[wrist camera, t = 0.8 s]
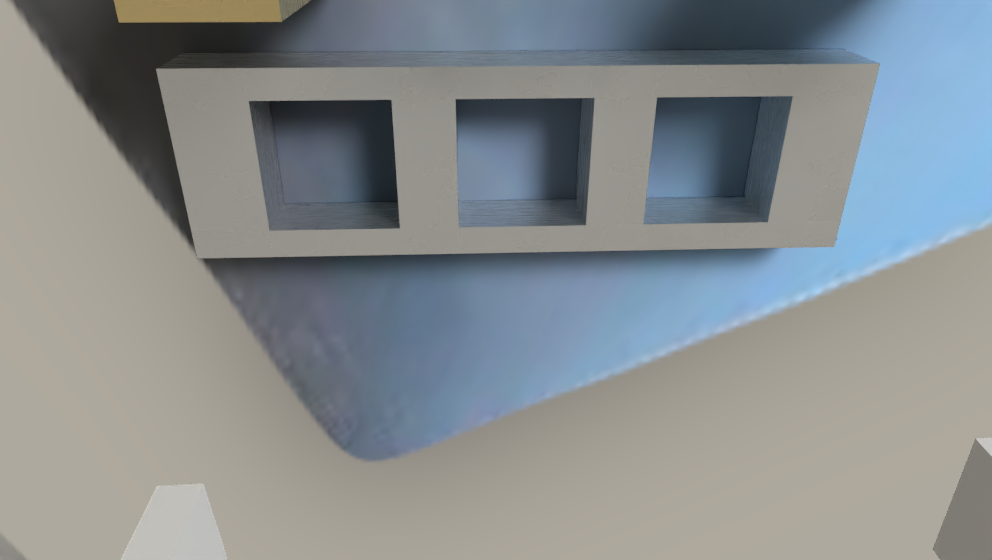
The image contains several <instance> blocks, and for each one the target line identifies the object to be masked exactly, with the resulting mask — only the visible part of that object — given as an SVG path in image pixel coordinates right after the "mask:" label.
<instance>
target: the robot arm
mask: <svg viewBox="0 0 992 560" xmlns="http://www.w3.org/2000/svg"><path fill="white" fill-rule="evenodd" d="M933 550H934V551H935V553H936V554H937V556H938V557H939V558H940V560H992V438H979V439H975V441H974V444H973V446H972V449H971V452H970V454H969V457H968V460H967V462H966V464H965V467H964V470H963V472H962V475H961V477H960V480H959V483H958V485H957V488H956V490H955V493H954V496H953V499H952V501H951V503H950V506H949V508H948V511H947V514H946V516H945V519H944V521H943V524H942V526H941V529H940V532H939V534H938V537H937V539H936V542H935V544H934V547H933ZM121 560H228V558H227V555H226V552H225V549H224V546H223V543H222V540H221V537H220V534H219V531H218V528H217V525H216V522H215V519H214V515H213V512H212V510H211V506H210V503H209V500H208V497H207V494H206V491H205V488H204V485H203V484H186V485H169V486H157V487H156V489H155V491H154V493H153V496H152V498H151V499H150V501H149V503H148V506H147V507H146V509H145V512H144V513H143V515H142V518H141V520H140V522H139V524H138V526H137V528H136V530H135V532H134V534H133V536H132V538H131V540H130V542H129V544H128V546H127V548H126V550H125V552H124V554H123V556H122V558H121Z"/></svg>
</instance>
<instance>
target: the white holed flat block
mask: <svg viewBox="0 0 992 560" xmlns="http://www.w3.org/2000/svg"><path fill="white" fill-rule="evenodd" d="M879 66H880V63H877V62H875V61H872V60H870V59H867V58H865V57H862V56H860V55H857V54H855V53H852V52H850V51H847V50H845V49H785V50H619V51H453V52H286V53H182V54H180V55H179V56H177V57H175V58H173V59H172V60H170V61H168V62H167V63H165V64H163V65H161V66H160V67H158V68H156V71H157V76H158V81H159V85H160V90H161V94H162V99H163V104H164V108H165V113H166V117H167V122H168V127H169V131H170V136H171V140H172V145H173V150H174V154H175V159H176V163H177V168H178V172H179V177H180V182H181V186H182V191H183V195H184V200H185V205H186V209H187V214H188V218H189V223H190V228H191V232H192V237H193V241H194V246H195V251H196V255H197V258H251V257H305V256H360V255H414V254H468V253H522V252H577V251H631V250H685V249H739V248H793V247H834V245H835V241H836V237H837V233H838V229H839V225H840V221H841V217H842V213H843V209H844V205H845V201H846V197H847V193H848V189H849V185H850V181H851V177H852V173H853V169H854V165H855V162H856V158H857V154H858V150H859V146H860V142H861V138H862V134H863V130H864V126H865V122H866V118H867V114H868V110H869V106H870V102H871V98H872V94H873V90H874V86H875V82H876V78H877V74H878V70H879ZM758 96H762V97H761V102H760V108H759V114H758V119H757V125H756V130H755V136H754V142H753V147H752V153H751V158H750V164H749V169H748V175H747V181H746V186H745V192H744V197H693V198H646V195H647V185H648V176H649V167H650V158H651V149H652V140H653V131H654V122H655V113H656V104H657V97H758ZM534 98H582V104H581V121H580V138H579V154H578V171H577V188H576V199H562V200H496V201H458V165H457V121H456V99H534ZM310 100H391V101H392V116H393V131H394V147H395V162H396V177H397V192H398V202H364V203H299V204H284V197H283V191H282V184H281V177H280V170H279V163H278V157H277V150H276V143H275V136H274V129H273V123H272V116H271V109H270V102H269V101H310Z"/></svg>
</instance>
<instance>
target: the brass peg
mask: <svg viewBox="0 0 992 560" xmlns="http://www.w3.org/2000/svg"><path fill="white" fill-rule="evenodd" d="M309 1H311V0H114V4H115V8H116V12H117V16H118V21H119V23H132V22H282V21H283V20H285V19H286V18H288V17H289V16H290V15H292V14H293V13H294V12H296V11H297V10H298V9H300V8H301V7H302V6H304V5H305V4H307V3H308V2H309Z"/></svg>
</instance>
